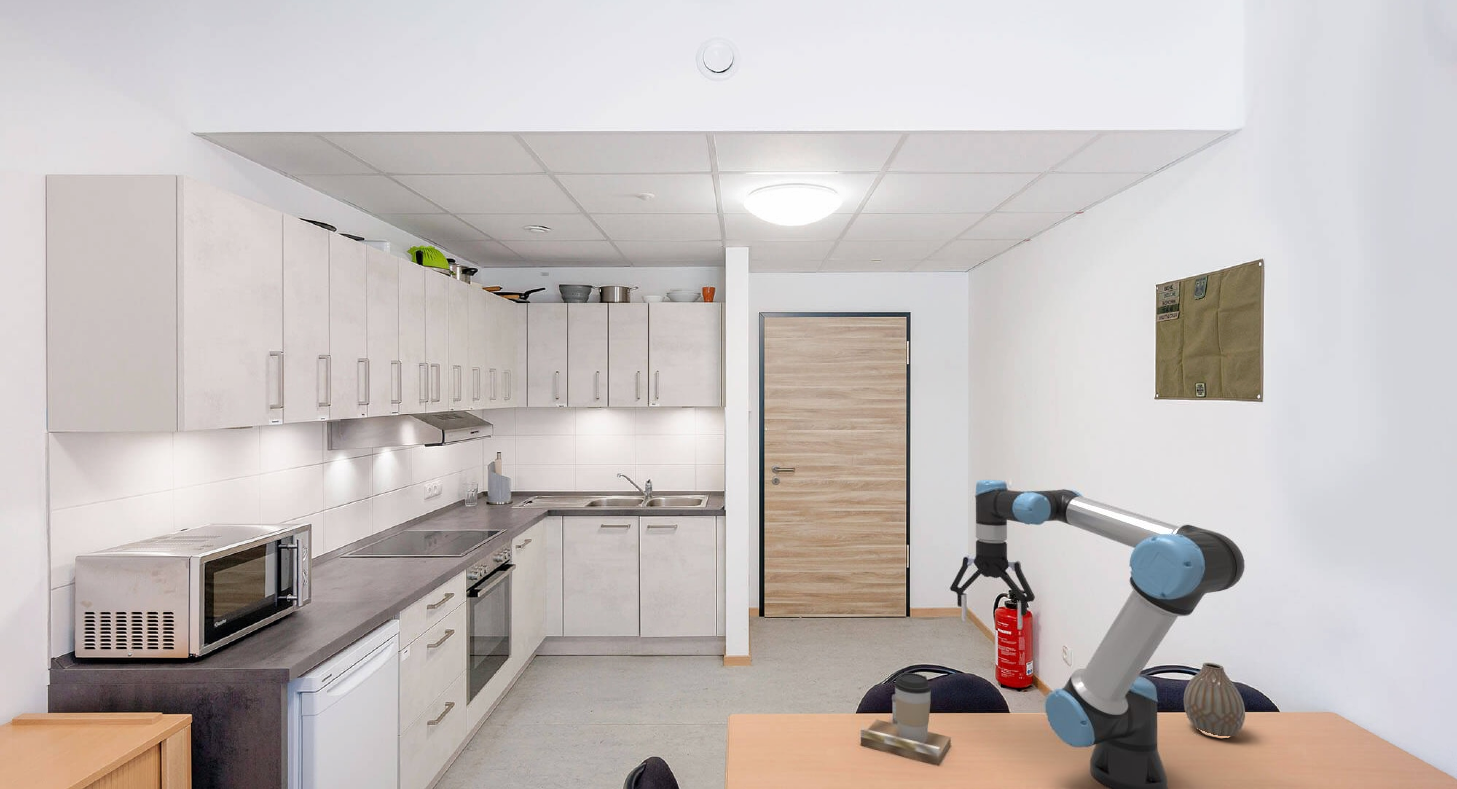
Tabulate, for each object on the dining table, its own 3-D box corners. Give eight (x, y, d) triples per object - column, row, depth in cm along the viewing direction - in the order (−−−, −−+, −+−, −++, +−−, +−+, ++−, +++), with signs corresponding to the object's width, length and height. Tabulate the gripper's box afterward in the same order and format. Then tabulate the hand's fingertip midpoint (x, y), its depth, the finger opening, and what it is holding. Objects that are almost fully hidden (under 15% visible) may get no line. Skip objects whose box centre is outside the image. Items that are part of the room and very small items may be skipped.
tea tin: (912, 723, 183) (912, 695, 184) (907, 730, 179) (907, 701, 180) (895, 719, 186) (895, 692, 186) (889, 725, 182) (889, 698, 182)
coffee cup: (894, 744, 167) (894, 681, 168) (893, 727, 176) (893, 668, 176) (933, 748, 165) (933, 684, 166) (930, 731, 174) (930, 671, 175)
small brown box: (950, 745, 171) (950, 729, 171) (938, 766, 161) (938, 749, 161) (876, 727, 181) (876, 712, 181) (860, 745, 170) (860, 729, 170)
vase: (1172, 725, 184) (1171, 659, 185) (1208, 719, 188) (1207, 654, 188) (1220, 748, 171) (1219, 676, 172) (1258, 741, 175) (1257, 671, 176)
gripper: (1045, 543, 174) (1046, 627, 173) (945, 533, 187) (945, 612, 186) (1042, 547, 168) (1043, 635, 167) (938, 537, 181) (938, 619, 180)
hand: (991, 623), depth 177 cm, fingers open, 13 cm apart
